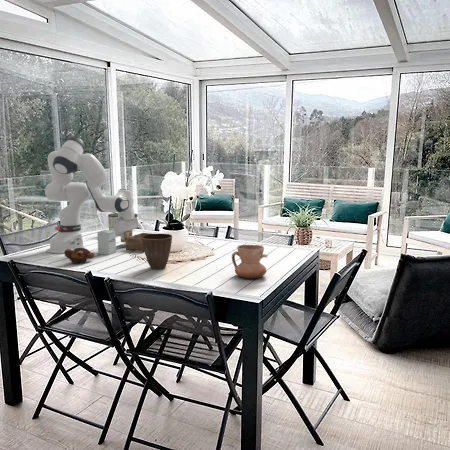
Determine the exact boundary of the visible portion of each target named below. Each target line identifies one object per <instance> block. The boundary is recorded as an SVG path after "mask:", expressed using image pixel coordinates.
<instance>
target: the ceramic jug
mask: <svg viewBox="0 0 450 450" xmlns="http://www.w3.org/2000/svg"><path fill="white" fill-rule="evenodd" d="M264 251H265V247H264V246H263V245H260V244H240V245H238V246H237V251H233V252H232V254H231V261H232V264H233V265H234V272H235V275H237V276H238V277H241V278H243V279H249V280H250V279H251V280H254V279H259V278H261V277H264V276H265V274H267V268H266V266H265V265H264V264H262V263H261V259H262V258H266V259H267V258H268V256H269V255H268V254H267V253H266V254H265V253H264ZM236 256H237V257H239V259H240V261H241V262H240V263H239V264H237V263H236V258H235V257H236Z"/></svg>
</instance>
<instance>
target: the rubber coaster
mask: <svg viewBox="0 0 450 450" xmlns="http://www.w3.org/2000/svg"><path fill="white" fill-rule="evenodd" d="M116 248H122V249H123V248H125V249H126V243H125V242H122V243H121V244H116Z"/></svg>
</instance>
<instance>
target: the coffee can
mask: <svg viewBox="0 0 450 450" xmlns="http://www.w3.org/2000/svg"><path fill="white" fill-rule="evenodd" d="M107 216H108V217H107V218H108V230H113V231H114V223H115V220H116V218H118V212H113V213H109V214H108V215H107ZM119 236H120V237H121V235H120V234H116V233H115V237H119Z"/></svg>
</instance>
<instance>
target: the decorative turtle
mask: <svg viewBox="0 0 450 450" xmlns="http://www.w3.org/2000/svg"><path fill="white" fill-rule="evenodd" d="M63 254H64V256H65V257H66V259H69V260H70V262H71V263H73V264H74V265H77V264H78V263H79V262H81V263H82V264H86V262H87V260H88V259H94V257H95V253H94V252H91V251H90V250H89V249H87V248H86V247H85V248H76V249H74V250H71V249H67V250H65V252H64V253H63Z"/></svg>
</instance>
